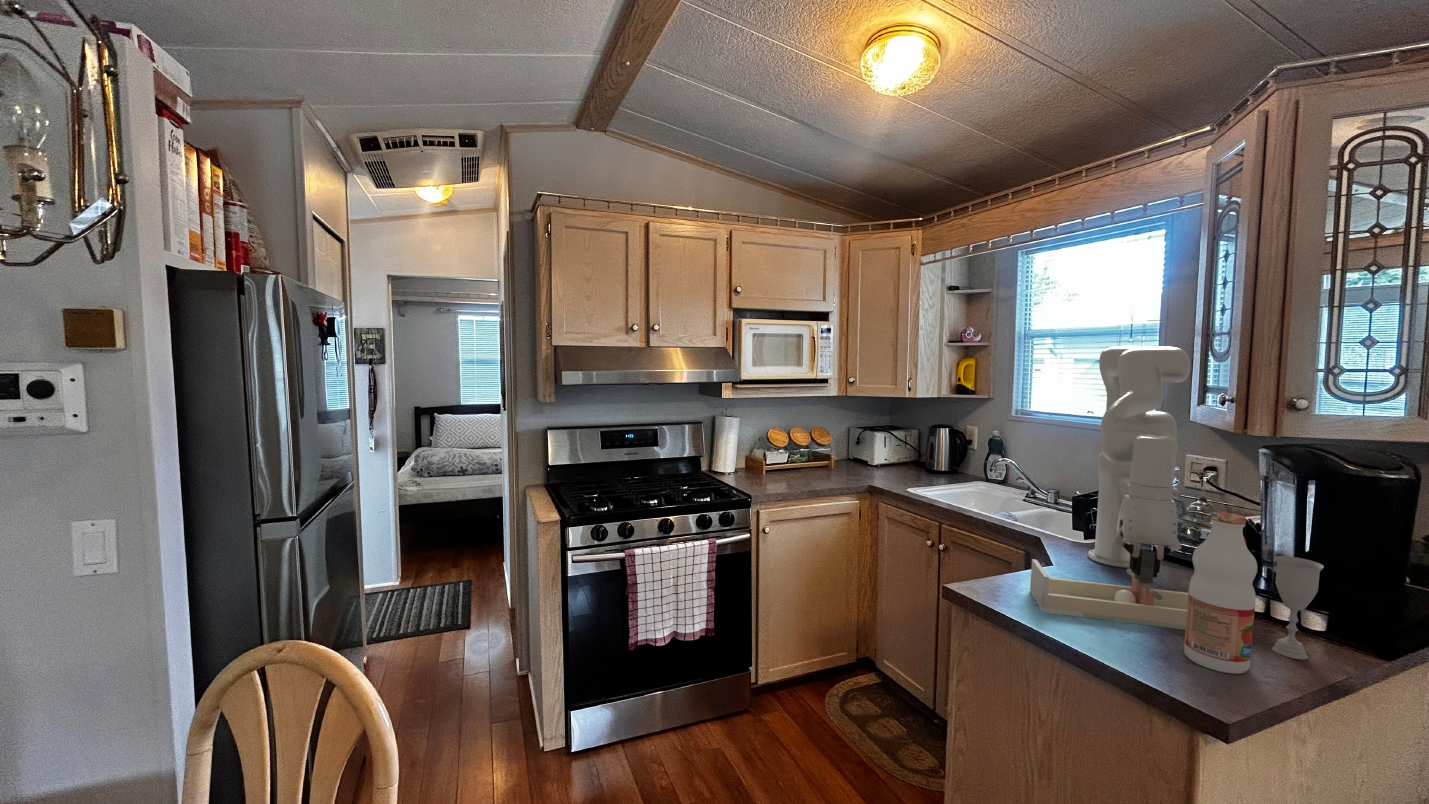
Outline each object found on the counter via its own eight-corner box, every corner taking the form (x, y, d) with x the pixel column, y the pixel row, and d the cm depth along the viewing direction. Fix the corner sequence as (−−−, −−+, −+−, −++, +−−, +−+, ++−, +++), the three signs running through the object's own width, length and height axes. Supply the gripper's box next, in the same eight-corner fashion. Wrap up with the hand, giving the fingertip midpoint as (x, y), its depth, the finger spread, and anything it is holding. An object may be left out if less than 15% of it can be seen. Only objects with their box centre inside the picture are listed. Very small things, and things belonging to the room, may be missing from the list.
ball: (1131, 605, 134) (1111, 603, 135) (1132, 587, 133) (1112, 586, 134) (1139, 612, 130) (1117, 610, 131) (1139, 594, 130) (1118, 592, 131)
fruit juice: (1175, 645, 117) (1187, 506, 115) (1235, 655, 114) (1248, 511, 111) (1194, 668, 108) (1207, 518, 106) (1259, 679, 105) (1274, 524, 103)
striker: (1121, 593, 139) (1125, 538, 138) (1133, 594, 139) (1137, 539, 138) (1150, 622, 124) (1154, 560, 123) (1163, 624, 123) (1168, 562, 122)
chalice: (1267, 640, 120) (1275, 553, 119) (1314, 652, 115) (1323, 562, 114) (1264, 652, 115) (1273, 561, 113) (1314, 666, 110) (1324, 571, 109)
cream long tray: (1030, 591, 143) (1032, 559, 142) (1187, 610, 134) (1189, 575, 133) (1042, 611, 132) (1044, 576, 131) (1214, 633, 123) (1217, 595, 122)
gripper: (1185, 491, 131) (1178, 573, 132) (1102, 485, 135) (1096, 564, 137) (1202, 499, 124) (1195, 585, 125) (1114, 492, 128) (1108, 576, 129)
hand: (1143, 573), depth 131 cm, fingers closed on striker, 2 cm apart
